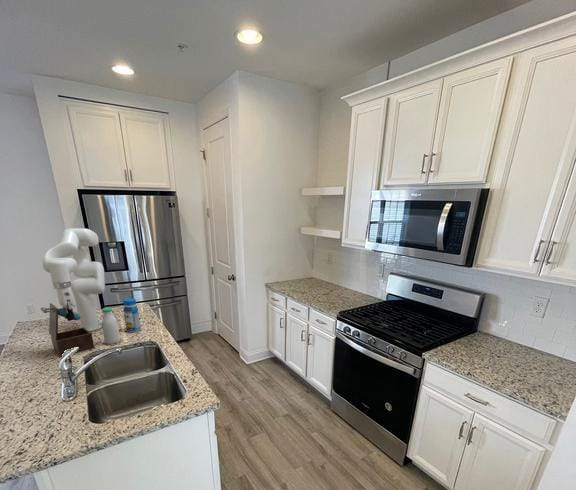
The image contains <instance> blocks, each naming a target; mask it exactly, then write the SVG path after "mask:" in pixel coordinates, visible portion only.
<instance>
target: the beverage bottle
mask: <svg viewBox="0 0 576 490" xmlns="http://www.w3.org/2000/svg"><path fill="white" fill-rule="evenodd" d="M122 301H123V317H124V321H125V329H126V332H129V333H134V332H138V331H141V328H142V327H141V321H140V312H139V308H138V306H137V305H136V304H137V301H136V298H134V297H127V298H123V300H122Z"/></svg>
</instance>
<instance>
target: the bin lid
mask: <svg viewBox="0 0 576 490" xmlns="http://www.w3.org/2000/svg"><path fill="white" fill-rule="evenodd" d="M58 309H59V308H58V307H57V306H56V305H54V304H53V303H49V307H48V308H47V307H46V308H45V307H40V311H41V312H43V313H44V314H47V313H49V318H48V319H49V324H48V327H49V328H48V334H49V335H50V337H51V336H52V337H53V338H54V339H55V340H56V341H57V340H58V333H59V315H58Z"/></svg>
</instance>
